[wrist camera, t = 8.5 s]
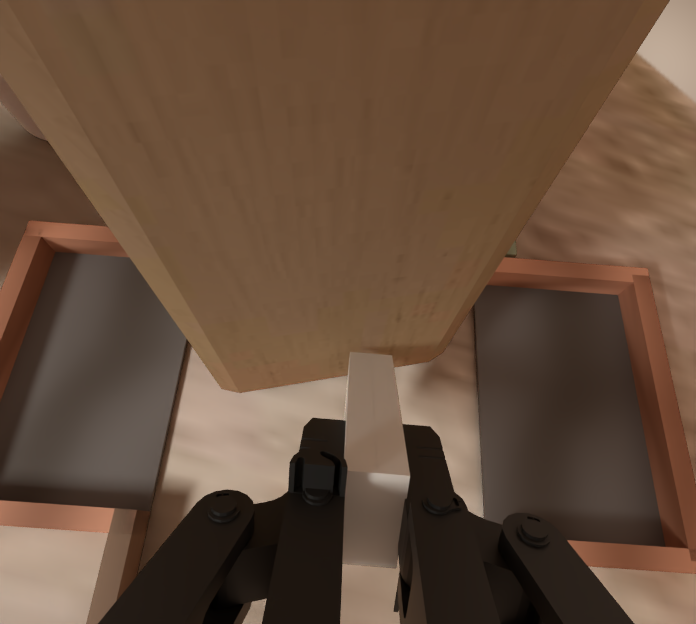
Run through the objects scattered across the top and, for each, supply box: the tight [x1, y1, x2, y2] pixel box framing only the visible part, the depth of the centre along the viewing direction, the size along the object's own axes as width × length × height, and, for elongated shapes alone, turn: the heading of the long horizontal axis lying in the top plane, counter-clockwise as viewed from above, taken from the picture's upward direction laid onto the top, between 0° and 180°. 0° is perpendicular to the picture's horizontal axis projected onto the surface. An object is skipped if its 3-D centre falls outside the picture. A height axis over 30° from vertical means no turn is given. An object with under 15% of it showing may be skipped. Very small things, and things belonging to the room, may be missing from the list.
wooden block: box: [0, 0, 670, 393], centre depth 14 cm, size 10×10×20 cm
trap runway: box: [0, 221, 696, 624], centre depth 20 cm, size 29×37×3 cm
